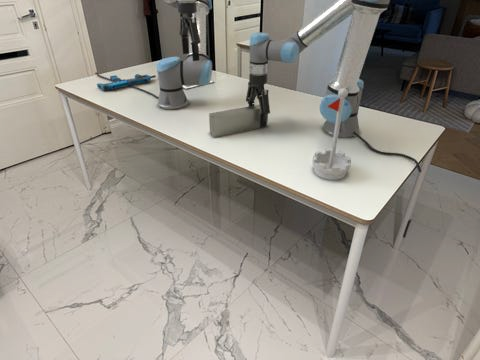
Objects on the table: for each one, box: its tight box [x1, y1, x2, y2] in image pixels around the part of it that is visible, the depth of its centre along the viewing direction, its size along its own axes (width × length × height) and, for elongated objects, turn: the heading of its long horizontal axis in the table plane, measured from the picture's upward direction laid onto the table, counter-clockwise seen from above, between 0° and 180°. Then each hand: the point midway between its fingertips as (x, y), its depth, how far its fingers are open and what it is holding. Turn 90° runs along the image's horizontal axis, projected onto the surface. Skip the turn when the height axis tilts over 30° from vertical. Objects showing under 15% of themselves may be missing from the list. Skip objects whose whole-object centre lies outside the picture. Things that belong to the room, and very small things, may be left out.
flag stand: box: [312, 88, 352, 181], centre depth 113 cm, size 13×13×30 cm
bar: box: [208, 104, 269, 138], centre depth 148 cm, size 26×5×9 cm, turn 115°
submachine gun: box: [96, 73, 157, 92], centre depth 207 cm, size 34×4×25 cm
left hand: (190, 57), depth 146 cm, fingers open, 13 cm apart
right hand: (256, 122), depth 153 cm, fingers open, 11 cm apart
